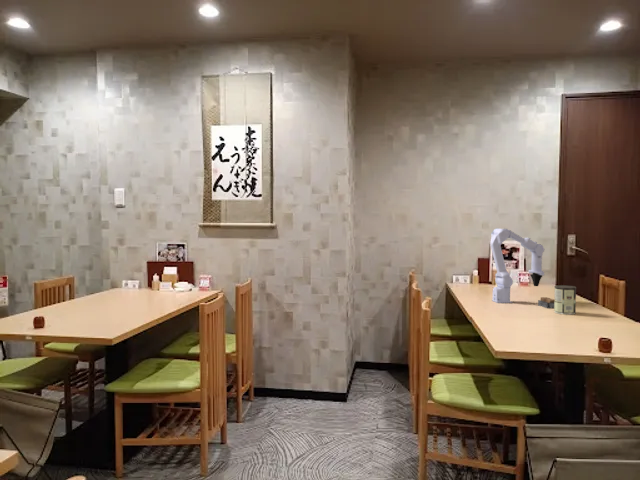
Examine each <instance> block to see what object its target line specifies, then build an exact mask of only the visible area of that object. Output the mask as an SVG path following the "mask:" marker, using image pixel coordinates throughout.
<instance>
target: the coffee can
mask: <svg viewBox="0 0 640 480" xmlns="http://www.w3.org/2000/svg"><path fill="white" fill-rule="evenodd" d="M553 287H554V300H555V303H554V308H553V309H554V310H553V311H554V312H553V313H555V314H558V315H564V316H567V315H570V316H571V315H572V316H573V315H575V314H576V305H577V303H576V302H577V287H576V286H575V285H565V284H564V285H563V284H561V285H556V284H555V285H554V286H553Z"/></svg>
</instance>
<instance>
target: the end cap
mask: <svg viewBox="0 0 640 480" xmlns="http://www.w3.org/2000/svg"><path fill="white" fill-rule="evenodd" d="M554 303H555V302H553V303H548V302H545V301H541V299H538V300H537V305H538V306H539V307H543V308H545V309H554Z"/></svg>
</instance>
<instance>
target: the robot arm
mask: <svg viewBox="0 0 640 480" xmlns="http://www.w3.org/2000/svg"><path fill="white" fill-rule="evenodd" d="M507 239H511V240H513V241H515V242H517V243H520V246H521V247H523V248H525V249H527V250H528V251H529V252H530V253H531V263H530V264H531V267H530V268H531V269H528V273H529V274H530V278H531V279H532V284H533V286H534V287H539V286H540V285H539V284H540V282H541V280H542V278H543V276H545V271H544V270H542V269H543V266H542V264H543V254H544V252H545V248H544V246H543V244H540V243H538V242H537V241H534V240H532V239H531V237H523V236H520V235H519V234H517V233H515V232H514V231H512V230H510V229H508V228H505V227H504V228H499V227H496V228H494V229H493V231H492V232H491V237H490V242H489V243H490V244H489V245H490V250H491V253H492V258H493V261H494V264H495V265H494V266H495V269H496V272H495V274H494V275H495V281H494V282H495V283H496V285H497V286H496V287H495V286H494V287H493V289H492V299H491V301H492V302H494V303H497V304H502V303H503V304H504V303H505V304H506V303H507V304H508V303H509V304H510V303H511V304H513V303H514V302H513V301H511V287H512V285H513V284H514V281H513V278H512V277H511V275H510V273H509V272H508V271H507V267H506V264H505V262H506V261H505V259H504V255H503V250H502V247H501V245H502V244H503V243H504V241H507Z"/></svg>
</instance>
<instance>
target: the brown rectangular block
mask: <svg viewBox="0 0 640 480" xmlns="http://www.w3.org/2000/svg"><path fill="white" fill-rule="evenodd" d="M540 300H541V301H545V302H548V303H553V302H555V298H554V299H553V298H550V297H544V296H543V297H540Z"/></svg>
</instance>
